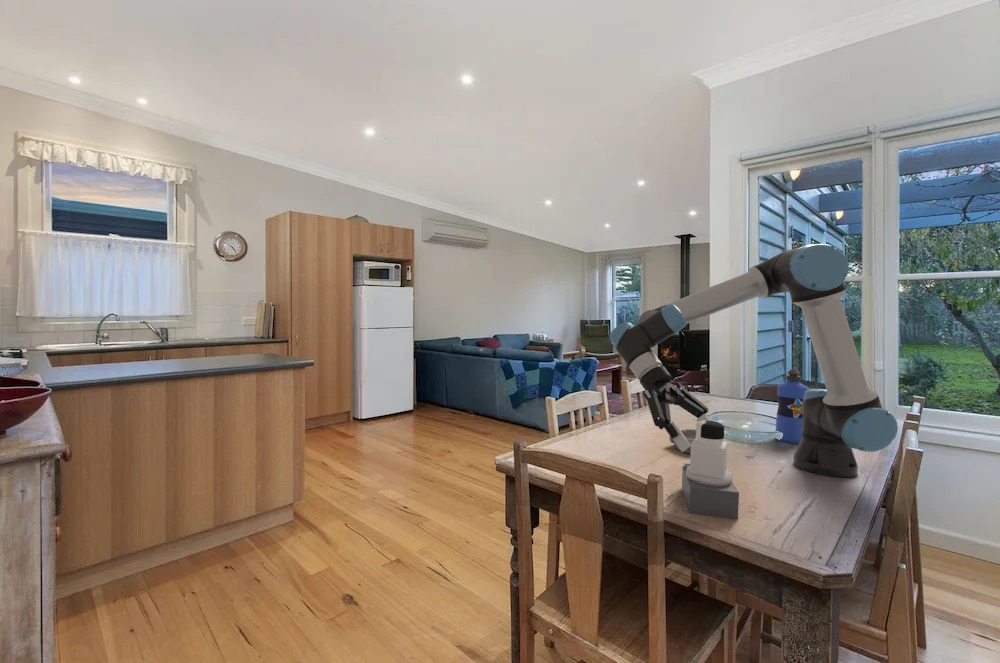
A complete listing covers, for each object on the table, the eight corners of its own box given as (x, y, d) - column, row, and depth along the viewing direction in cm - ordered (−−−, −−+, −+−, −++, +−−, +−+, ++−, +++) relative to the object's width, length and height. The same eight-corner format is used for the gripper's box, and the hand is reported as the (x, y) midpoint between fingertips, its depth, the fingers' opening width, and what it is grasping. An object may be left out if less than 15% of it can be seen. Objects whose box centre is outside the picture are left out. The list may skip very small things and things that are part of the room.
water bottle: (812, 444, 154) (816, 371, 152) (785, 444, 154) (788, 371, 153) (795, 436, 163) (798, 367, 162) (769, 436, 163) (772, 367, 162)
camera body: (724, 493, 113) (725, 464, 113) (737, 519, 100) (739, 485, 99) (681, 489, 116) (682, 460, 116) (689, 513, 102) (690, 480, 102)
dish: (701, 442, 157) (702, 427, 156) (728, 455, 143) (729, 439, 143) (663, 444, 154) (663, 429, 154) (686, 457, 140) (687, 441, 140)
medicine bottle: (727, 470, 109) (728, 421, 108) (723, 480, 103) (725, 428, 102) (695, 464, 112) (696, 417, 112) (689, 473, 106) (691, 423, 106)
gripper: (669, 377, 129) (718, 442, 118) (611, 386, 114) (661, 461, 103) (687, 361, 124) (740, 427, 113) (629, 368, 110) (683, 444, 99)
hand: (702, 443), depth 108 cm, fingers open, 13 cm apart
